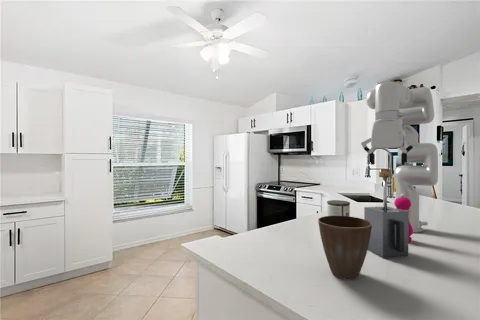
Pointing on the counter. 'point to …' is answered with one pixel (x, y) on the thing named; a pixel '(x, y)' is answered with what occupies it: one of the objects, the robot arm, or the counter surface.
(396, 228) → the press
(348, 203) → the coffee can
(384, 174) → the plunger
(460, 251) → the counter surface
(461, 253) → the counter surface
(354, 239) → the plant pot
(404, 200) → the pepper mill
